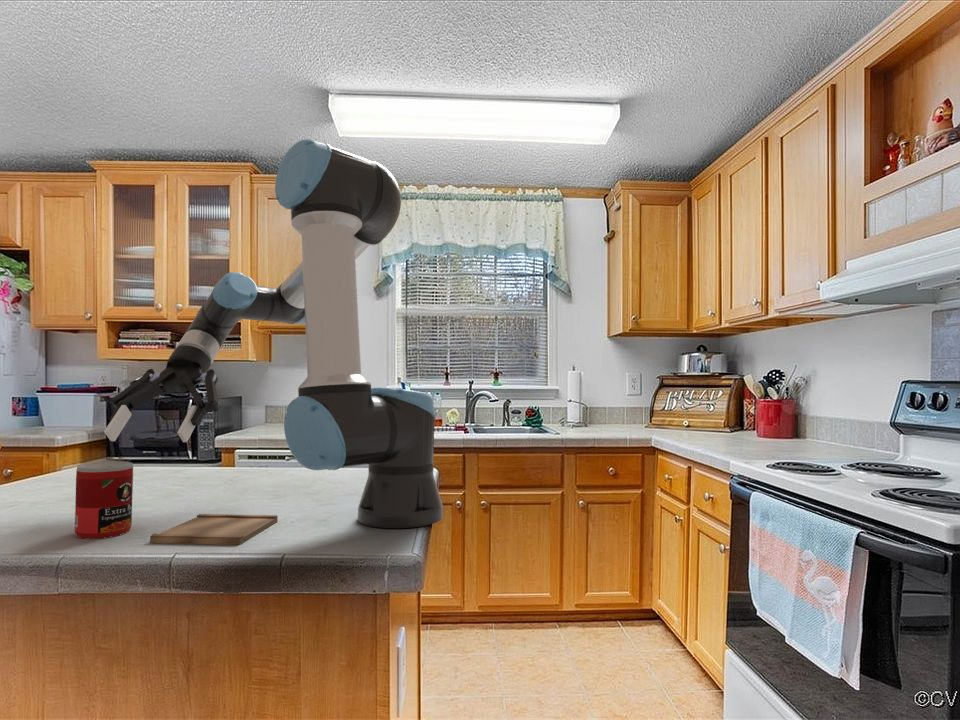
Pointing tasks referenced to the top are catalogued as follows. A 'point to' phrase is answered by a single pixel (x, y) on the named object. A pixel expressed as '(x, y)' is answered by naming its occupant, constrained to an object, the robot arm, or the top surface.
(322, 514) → the top surface
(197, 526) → the trivet
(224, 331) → the robot arm
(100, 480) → the canned food
